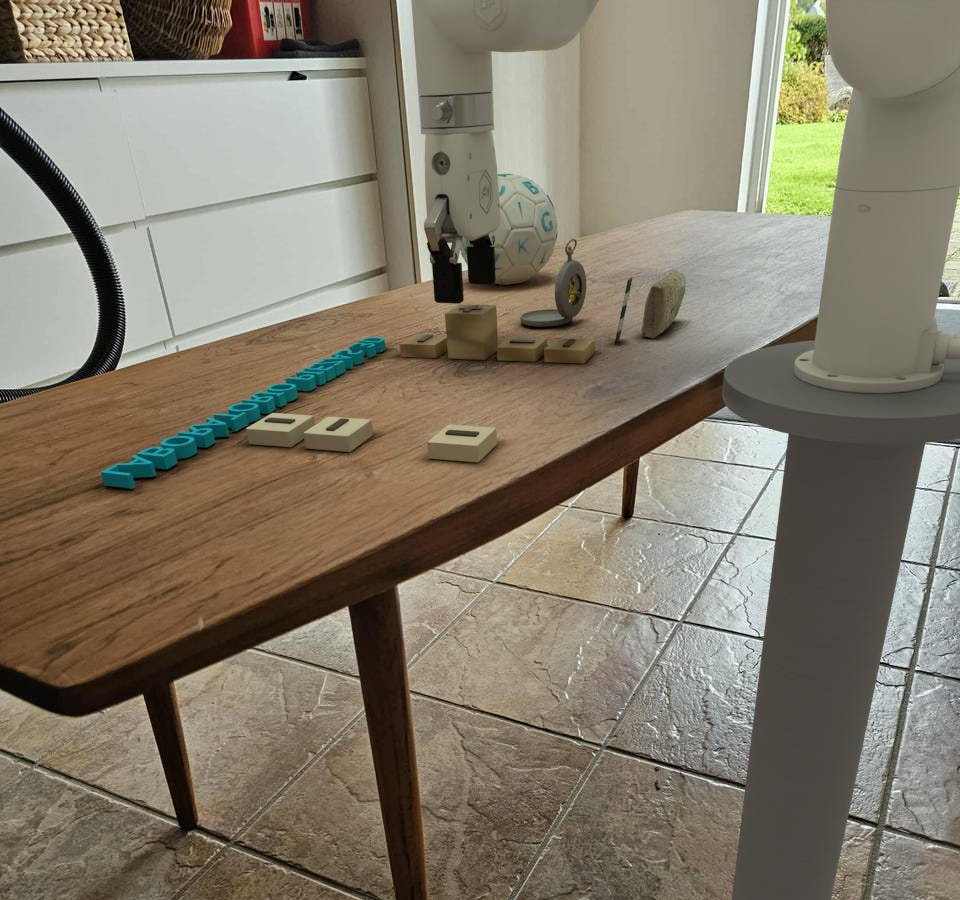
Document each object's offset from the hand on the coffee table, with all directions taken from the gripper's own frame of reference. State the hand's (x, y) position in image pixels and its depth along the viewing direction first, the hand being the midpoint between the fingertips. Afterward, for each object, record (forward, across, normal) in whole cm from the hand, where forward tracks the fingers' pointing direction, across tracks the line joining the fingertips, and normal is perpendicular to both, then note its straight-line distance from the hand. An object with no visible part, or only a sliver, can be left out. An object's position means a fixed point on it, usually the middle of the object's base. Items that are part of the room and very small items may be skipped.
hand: (466, 292), depth 100 cm
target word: (+7, -30, -3) cm, 31 cm away
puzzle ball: (+7, +40, +9) cm, 42 cm away
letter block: (+7, 0, -1) cm, 7 cm away
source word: (+7, 0, -4) cm, 8 cm away
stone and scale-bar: (+7, +12, -19) cm, 23 cm away
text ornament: (+7, -22, +13) cm, 26 cm away
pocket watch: (+7, +15, -6) cm, 17 cm away
